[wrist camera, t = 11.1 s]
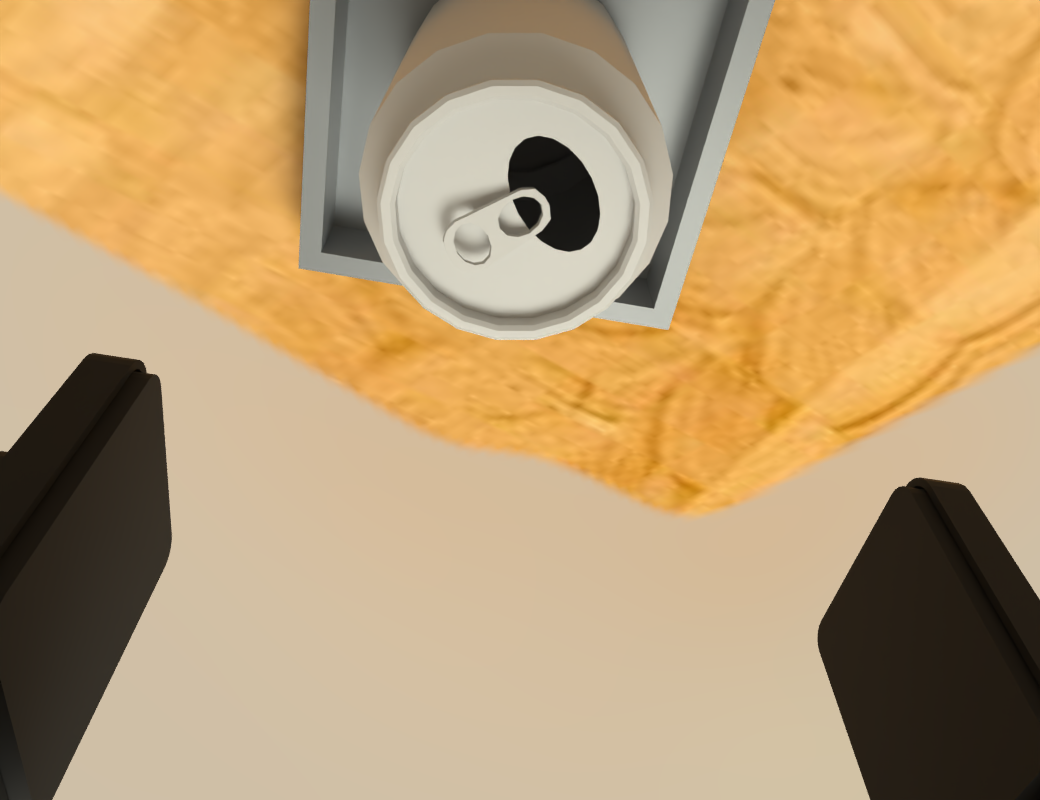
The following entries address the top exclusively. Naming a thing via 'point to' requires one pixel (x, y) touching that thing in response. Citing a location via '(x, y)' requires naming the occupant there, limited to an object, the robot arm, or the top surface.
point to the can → (516, 167)
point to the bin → (660, 63)
